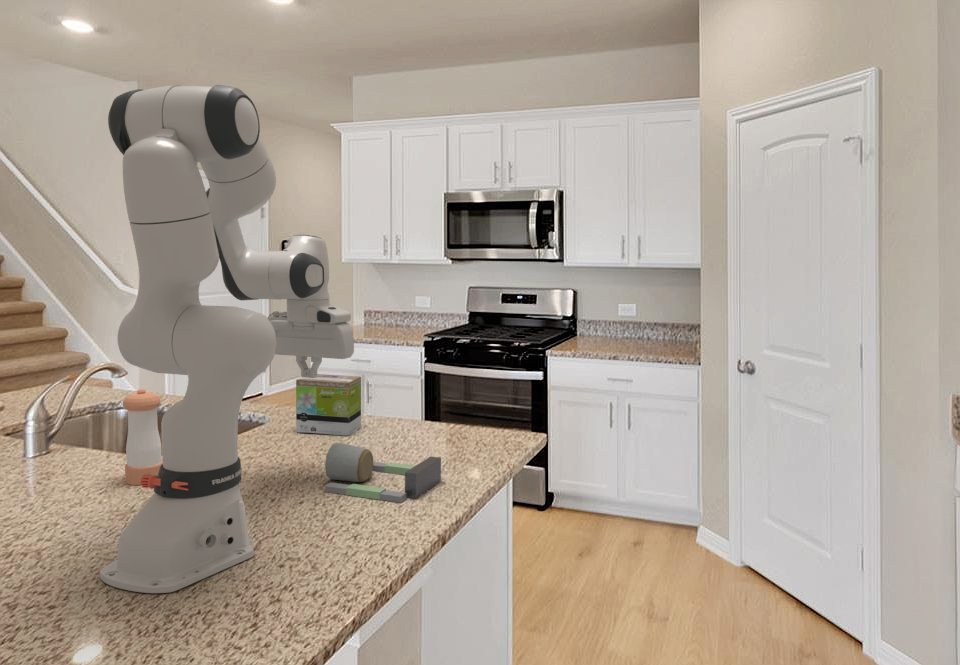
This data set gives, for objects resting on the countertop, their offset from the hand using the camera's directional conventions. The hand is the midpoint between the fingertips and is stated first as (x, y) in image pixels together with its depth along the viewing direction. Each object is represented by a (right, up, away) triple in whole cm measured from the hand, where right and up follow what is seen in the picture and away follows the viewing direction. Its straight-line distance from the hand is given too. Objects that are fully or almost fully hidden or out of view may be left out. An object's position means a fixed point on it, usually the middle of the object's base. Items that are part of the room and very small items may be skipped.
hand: (309, 377), depth 149 cm
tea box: (-4, -17, +40) cm, 44 cm away
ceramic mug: (+9, -22, -1) cm, 24 cm away
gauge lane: (+17, -22, -4) cm, 28 cm away
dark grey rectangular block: (+25, -22, -7) cm, 34 cm away
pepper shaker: (-33, -21, -4) cm, 40 cm away
